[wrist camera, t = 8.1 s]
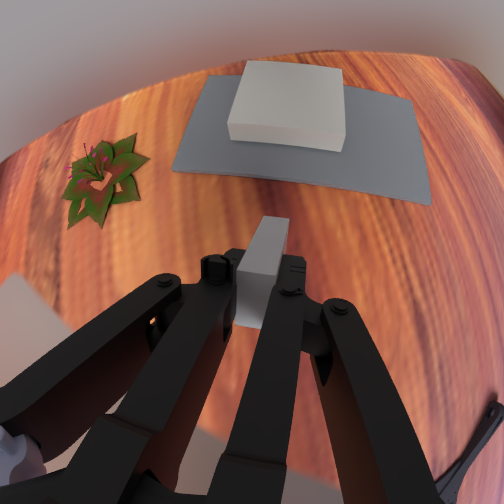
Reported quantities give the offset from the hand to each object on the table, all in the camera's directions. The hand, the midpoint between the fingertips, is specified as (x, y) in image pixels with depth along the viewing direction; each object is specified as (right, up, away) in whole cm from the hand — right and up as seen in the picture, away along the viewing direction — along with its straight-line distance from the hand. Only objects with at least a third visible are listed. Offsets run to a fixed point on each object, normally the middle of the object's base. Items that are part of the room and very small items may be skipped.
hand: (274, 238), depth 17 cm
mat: (+4, +12, +9) cm, 15 cm away
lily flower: (-17, +7, +10) cm, 20 cm away
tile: (+2, +9, +6) cm, 11 cm away
